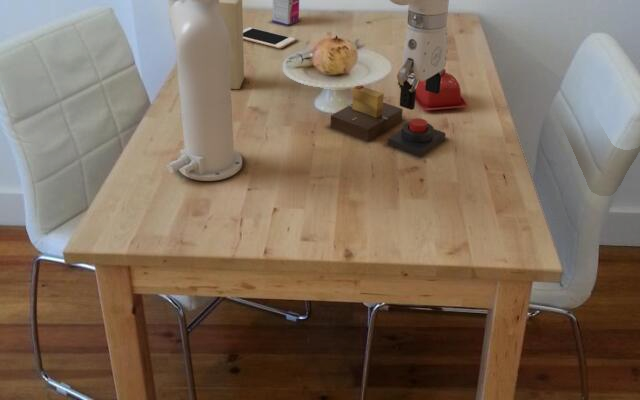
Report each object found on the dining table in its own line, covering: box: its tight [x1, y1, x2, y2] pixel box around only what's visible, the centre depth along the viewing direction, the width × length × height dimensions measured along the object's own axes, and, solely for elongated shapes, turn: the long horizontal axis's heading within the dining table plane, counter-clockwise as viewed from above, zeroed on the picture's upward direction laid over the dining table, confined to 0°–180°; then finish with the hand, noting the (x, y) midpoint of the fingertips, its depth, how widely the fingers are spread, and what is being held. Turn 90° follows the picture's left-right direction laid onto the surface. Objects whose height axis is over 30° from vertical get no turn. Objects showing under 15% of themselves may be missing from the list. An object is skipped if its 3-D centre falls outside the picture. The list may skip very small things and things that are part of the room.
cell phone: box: [243, 26, 297, 49], centre depth 206 cm, size 8×16×1 cm, turn 58°
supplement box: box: [272, 0, 300, 27], centre depth 216 cm, size 6×6×12 cm
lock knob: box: [352, 84, 385, 118], centre depth 161 cm, size 6×2×5 cm, turn 51°
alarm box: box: [387, 121, 447, 158], centre depth 156 cm, size 10×8×4 cm
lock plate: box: [330, 101, 404, 143], centre depth 163 cm, size 13×11×3 cm
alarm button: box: [409, 117, 428, 133], centre depth 155 cm, size 4×4×2 cm
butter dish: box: [414, 68, 468, 111], centre depth 172 cm, size 12×12×8 cm
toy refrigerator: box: [219, 0, 245, 90], centre depth 175 cm, size 8×7×21 cm
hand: (419, 99), depth 152 cm, fingers open, 9 cm apart
